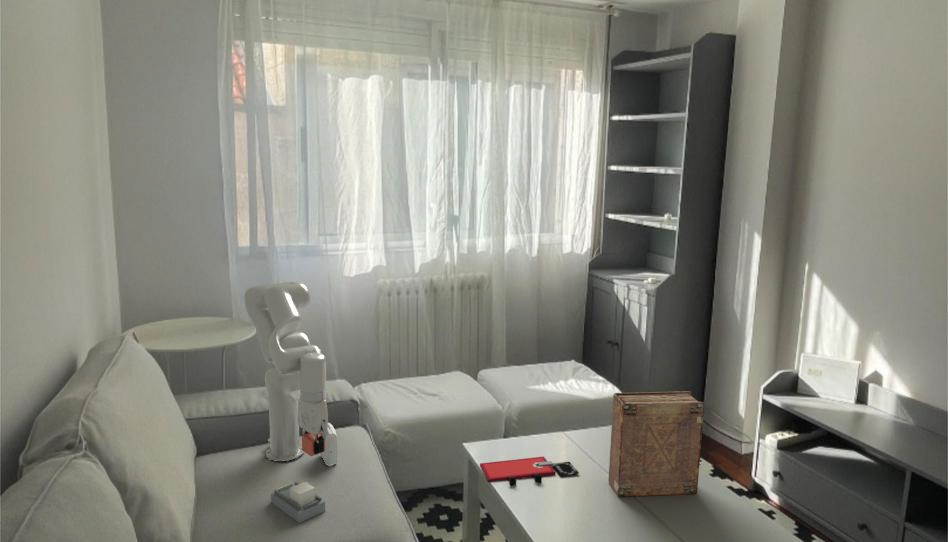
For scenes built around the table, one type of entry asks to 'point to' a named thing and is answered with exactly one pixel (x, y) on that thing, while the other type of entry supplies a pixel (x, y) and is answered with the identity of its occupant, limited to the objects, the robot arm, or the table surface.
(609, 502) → the table surface
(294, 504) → the grey tray
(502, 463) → the red board with handle
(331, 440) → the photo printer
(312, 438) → the red cube
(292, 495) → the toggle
